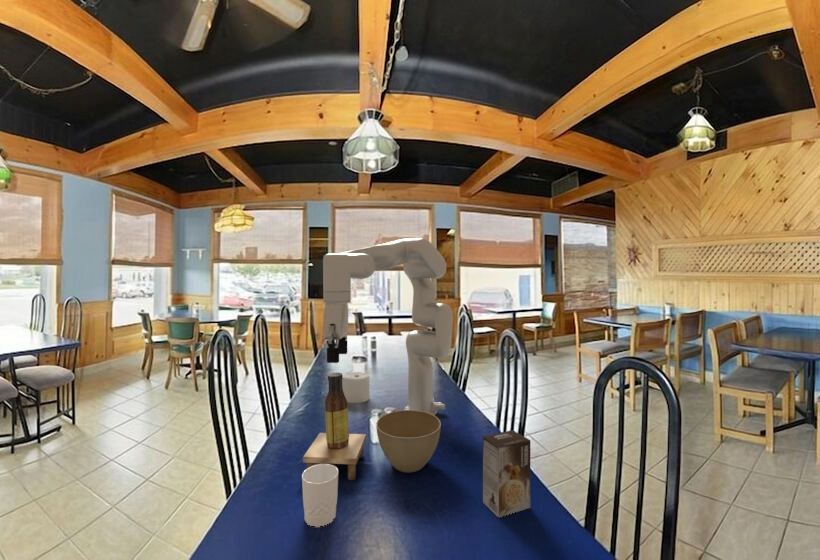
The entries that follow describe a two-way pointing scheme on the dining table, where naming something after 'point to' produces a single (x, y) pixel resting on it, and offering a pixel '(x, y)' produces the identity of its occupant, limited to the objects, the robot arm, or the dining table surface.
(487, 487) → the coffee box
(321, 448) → the footstool
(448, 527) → the dining table surface
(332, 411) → the sauce bottle
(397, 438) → the tan bowl
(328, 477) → the white cup
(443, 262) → the robot arm
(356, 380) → the toilet tissue
